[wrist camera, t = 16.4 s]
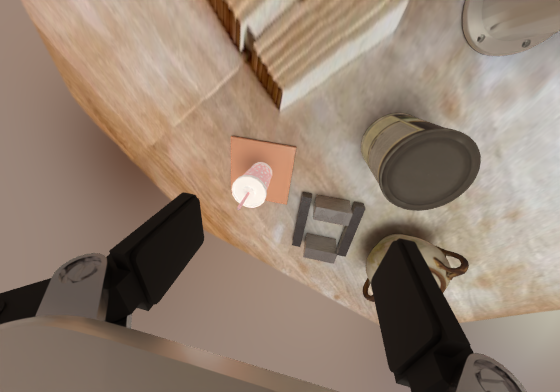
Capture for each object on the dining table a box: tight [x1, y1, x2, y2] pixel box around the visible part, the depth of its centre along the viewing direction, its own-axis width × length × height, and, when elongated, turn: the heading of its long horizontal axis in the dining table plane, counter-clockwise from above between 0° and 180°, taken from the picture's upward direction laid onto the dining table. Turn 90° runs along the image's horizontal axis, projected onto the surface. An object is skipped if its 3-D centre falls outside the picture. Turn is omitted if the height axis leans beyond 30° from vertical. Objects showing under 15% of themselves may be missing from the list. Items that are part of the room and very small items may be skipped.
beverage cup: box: [232, 162, 272, 210], centre depth 36 cm, size 6×6×14 cm
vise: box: [292, 192, 365, 264], centre depth 44 cm, size 13×14×5 cm
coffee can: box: [361, 113, 481, 211], centre depth 29 cm, size 10×10×14 cm
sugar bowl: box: [363, 234, 469, 302], centre depth 40 cm, size 20×15×15 cm
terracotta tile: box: [231, 136, 296, 205], centre depth 42 cm, size 13×13×1 cm
